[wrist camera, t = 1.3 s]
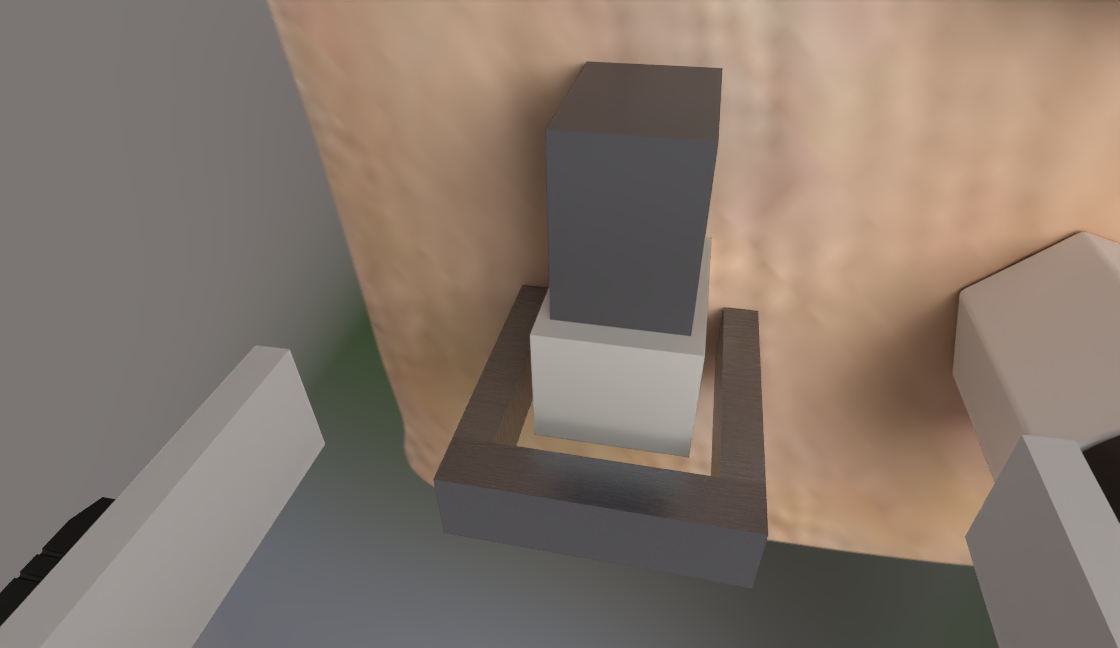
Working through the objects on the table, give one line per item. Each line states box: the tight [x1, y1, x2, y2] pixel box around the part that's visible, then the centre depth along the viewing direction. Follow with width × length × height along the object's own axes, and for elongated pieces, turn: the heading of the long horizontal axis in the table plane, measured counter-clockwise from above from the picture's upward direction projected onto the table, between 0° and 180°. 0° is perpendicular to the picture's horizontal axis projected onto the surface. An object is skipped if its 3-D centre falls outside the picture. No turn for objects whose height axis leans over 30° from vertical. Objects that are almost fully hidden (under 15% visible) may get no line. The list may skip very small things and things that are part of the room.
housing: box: [434, 285, 768, 588], centre depth 27 cm, size 3×11×12 cm, turn 91°
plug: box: [530, 62, 722, 457], centre depth 25 cm, size 14×6×8 cm, turn 1°
